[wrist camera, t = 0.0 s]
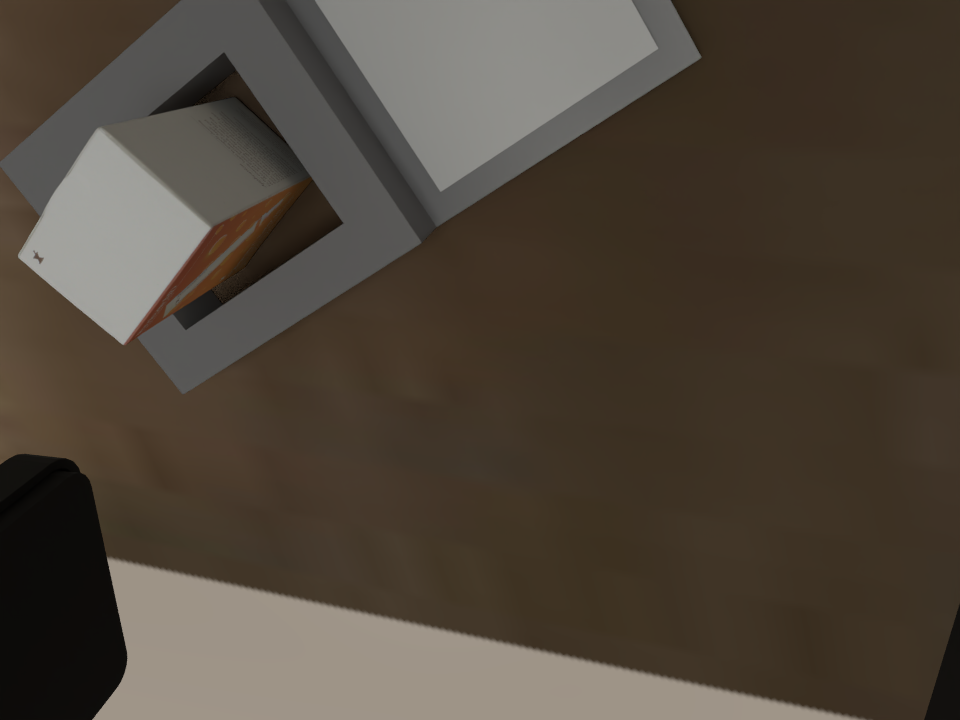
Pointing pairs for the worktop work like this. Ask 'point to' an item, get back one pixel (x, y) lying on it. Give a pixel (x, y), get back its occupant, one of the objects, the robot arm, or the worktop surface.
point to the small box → (163, 212)
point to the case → (367, 123)
